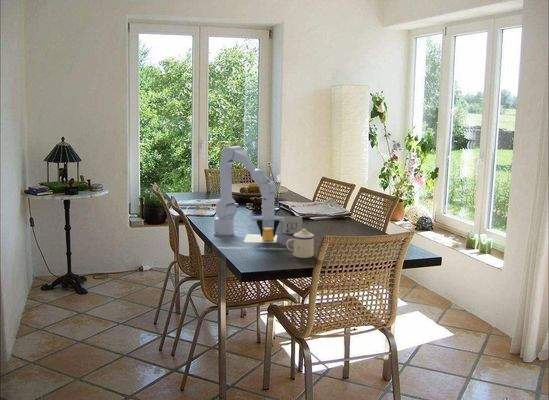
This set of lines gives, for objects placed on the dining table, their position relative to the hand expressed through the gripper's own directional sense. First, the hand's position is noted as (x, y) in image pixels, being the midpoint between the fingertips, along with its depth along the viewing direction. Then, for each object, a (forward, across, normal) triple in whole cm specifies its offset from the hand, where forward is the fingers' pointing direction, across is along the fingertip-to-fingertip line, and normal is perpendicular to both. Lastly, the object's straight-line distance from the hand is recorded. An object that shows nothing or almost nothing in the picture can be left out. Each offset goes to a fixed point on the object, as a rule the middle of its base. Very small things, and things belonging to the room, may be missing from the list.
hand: (267, 236), depth 278 cm
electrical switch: (+3, +11, +18) cm, 21 cm away
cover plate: (+3, -4, +4) cm, 6 cm away
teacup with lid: (+3, +15, -22) cm, 27 cm away
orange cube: (+1, 0, 0) cm, 1 cm away
